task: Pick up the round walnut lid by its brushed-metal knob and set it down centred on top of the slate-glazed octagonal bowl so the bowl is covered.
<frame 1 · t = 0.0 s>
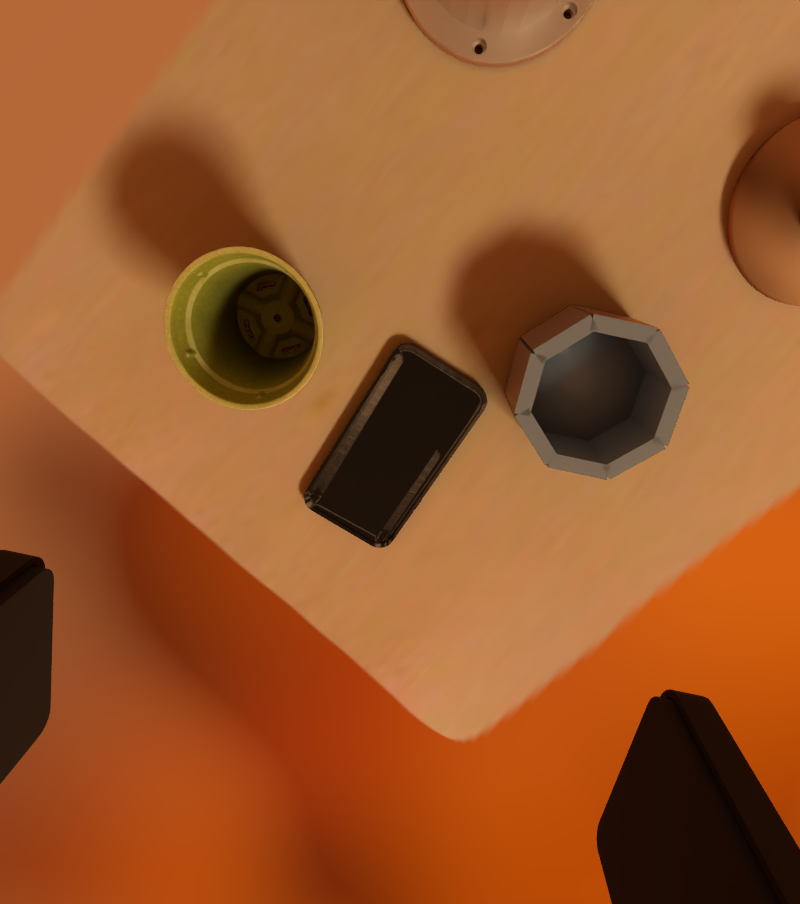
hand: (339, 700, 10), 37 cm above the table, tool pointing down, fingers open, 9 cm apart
bowl: (579, 380, 45), on the table
plant pot: (279, 315, 45), on the table
phone: (394, 446, 48), on the table
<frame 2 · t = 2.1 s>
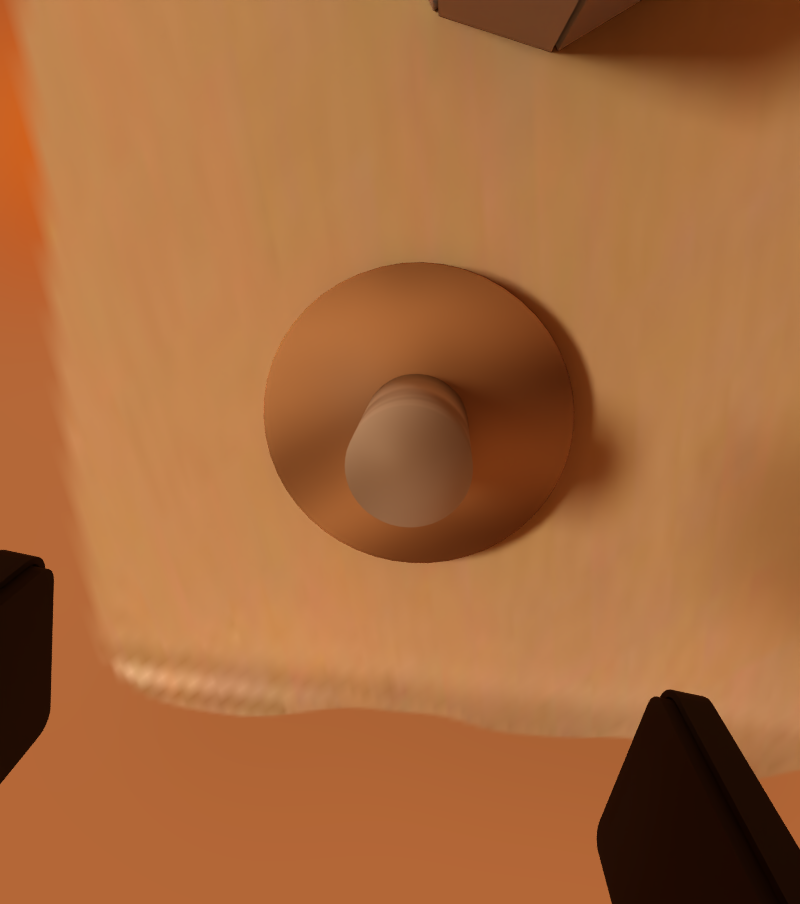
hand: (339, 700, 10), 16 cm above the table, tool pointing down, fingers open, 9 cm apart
lid: (417, 416, 25), on the table
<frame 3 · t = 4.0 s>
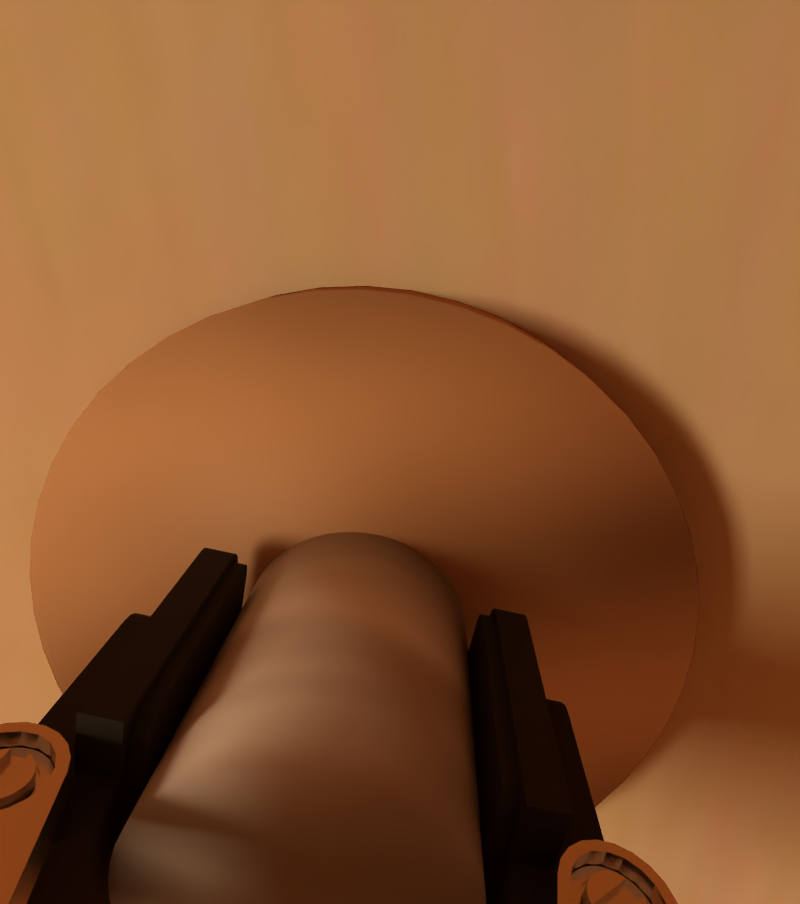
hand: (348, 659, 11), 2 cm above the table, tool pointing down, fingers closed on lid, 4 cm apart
lid: (363, 596, 12), on the table, touching gripper
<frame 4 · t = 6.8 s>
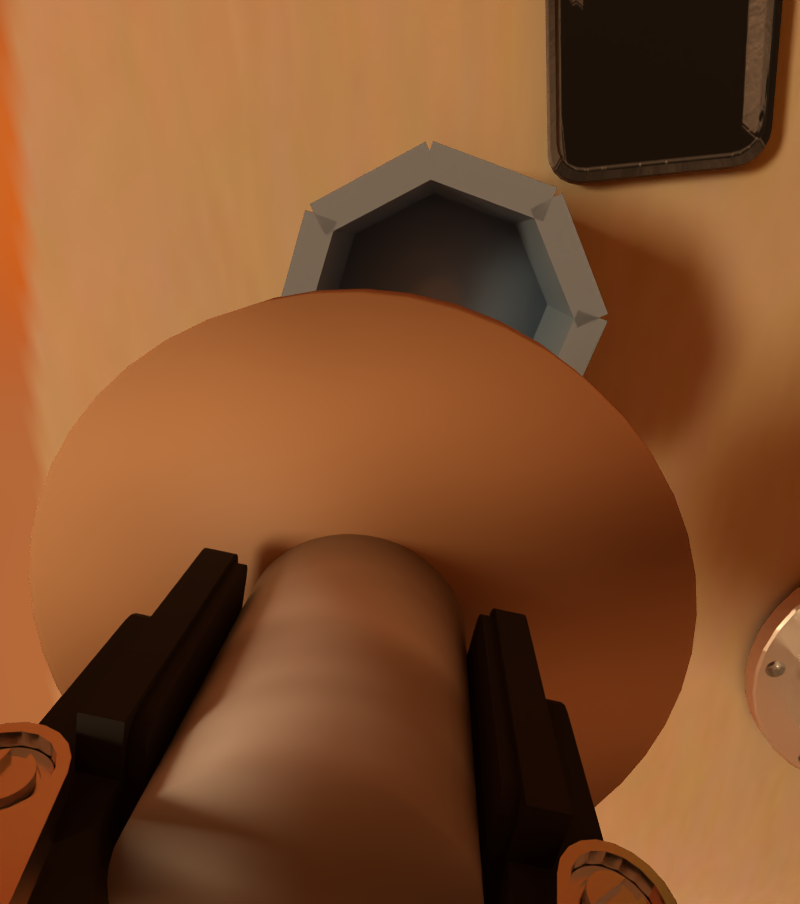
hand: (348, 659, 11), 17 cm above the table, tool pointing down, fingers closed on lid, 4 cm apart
bowl: (437, 308, 26), on the table
lid: (361, 598, 12), point 15 cm above the table, touching gripper
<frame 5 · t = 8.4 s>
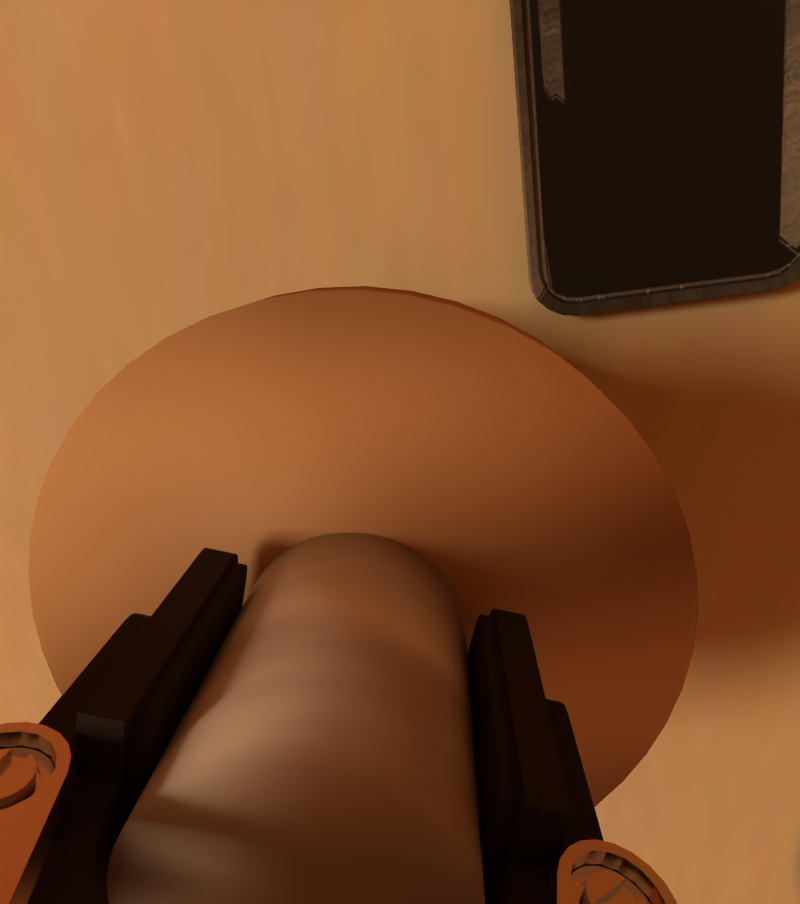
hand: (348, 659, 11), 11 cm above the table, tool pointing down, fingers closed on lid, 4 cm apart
lid: (362, 597, 12), point 9 cm above the table, touching gripper
phone: (652, 16, 17), on the table
when the fingers open (9 cm above the table, at t = 9.5 s): lid stays where it is, resting on bowl.
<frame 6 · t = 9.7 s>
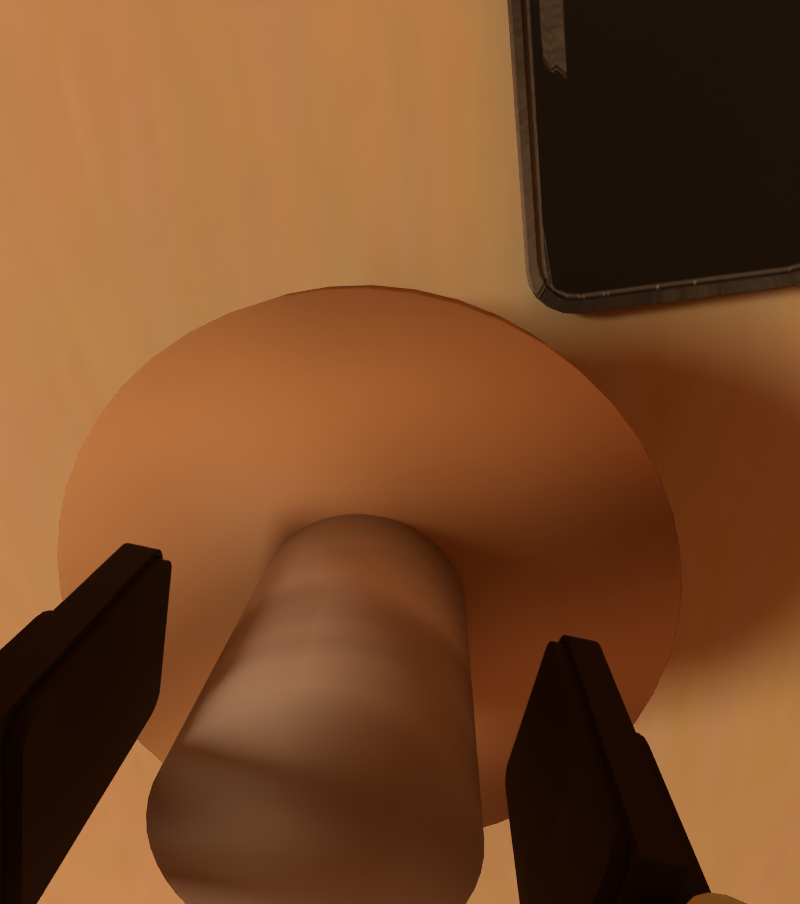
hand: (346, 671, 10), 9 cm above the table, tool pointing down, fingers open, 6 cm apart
lid: (368, 577, 13), point 6 cm above the table, touching bowl
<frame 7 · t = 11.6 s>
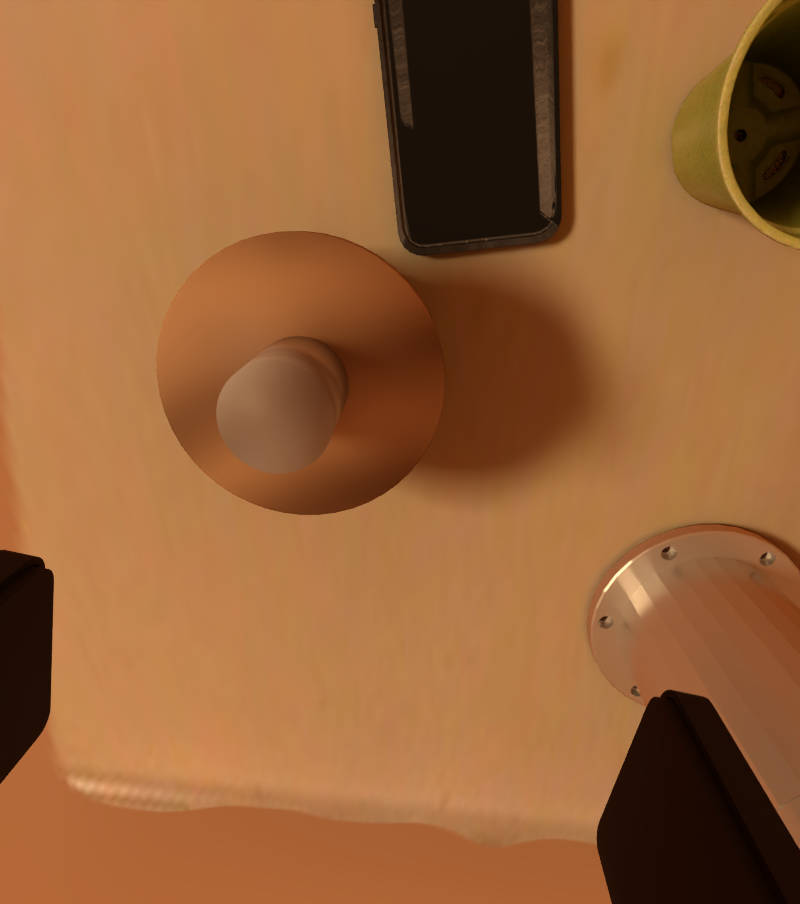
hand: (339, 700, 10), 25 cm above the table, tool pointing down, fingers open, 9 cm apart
plant pot: (734, 139, 29), on the table
lid: (305, 377, 27), point 6 cm above the table, touching bowl
phone: (466, 78, 29), on the table
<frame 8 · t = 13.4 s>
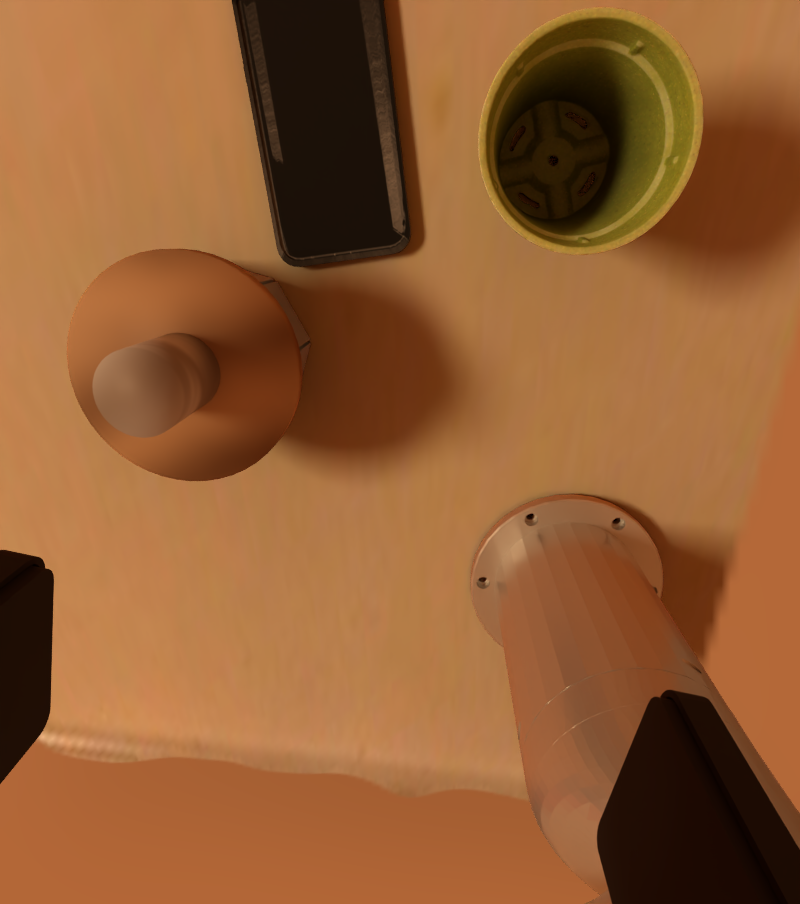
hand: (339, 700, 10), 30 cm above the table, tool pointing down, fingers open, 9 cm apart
bowl: (226, 349, 39), on the table
plant pot: (552, 163, 35), on the table
lid: (190, 367, 33), point 6 cm above the table, touching bowl
phone: (327, 121, 35), on the table
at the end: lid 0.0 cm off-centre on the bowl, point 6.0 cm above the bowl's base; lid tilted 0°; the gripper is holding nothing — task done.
